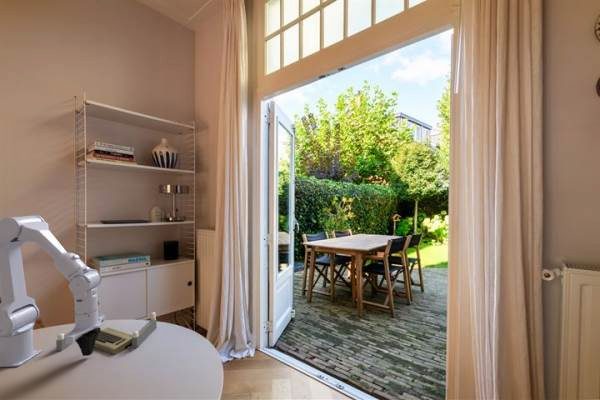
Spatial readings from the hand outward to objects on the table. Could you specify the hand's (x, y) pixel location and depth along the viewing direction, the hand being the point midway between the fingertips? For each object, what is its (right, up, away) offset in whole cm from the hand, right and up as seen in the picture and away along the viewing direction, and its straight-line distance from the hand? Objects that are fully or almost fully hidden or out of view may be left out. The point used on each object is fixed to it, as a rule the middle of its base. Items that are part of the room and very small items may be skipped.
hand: (87, 354), depth 87 cm
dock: (-1, -1, +11) cm, 11 cm away
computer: (+2, -2, +8) cm, 9 cm away
